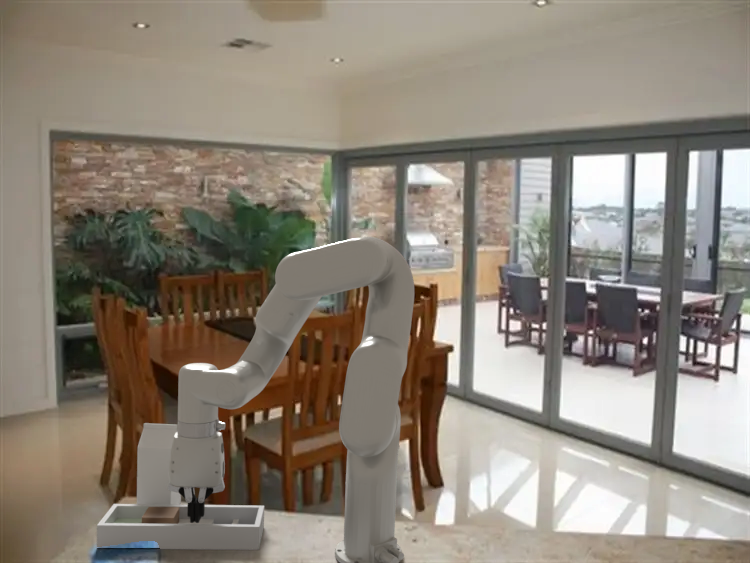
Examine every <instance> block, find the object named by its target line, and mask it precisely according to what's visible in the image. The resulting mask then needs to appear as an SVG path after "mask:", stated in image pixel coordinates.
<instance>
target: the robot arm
mask: <svg viewBox="0 0 750 563" xmlns="http://www.w3.org/2000/svg"><path fill="white" fill-rule="evenodd" d="M274 281H275V284H274V286H273V287H272V289H271V290H270V292H269V294H268V295H267V297H266V298H265V299H264V302H263V303H262V304H261V306H260V308H259V309H258V310H257V312H256V314H255V325H256V326H255V327H256V329H255V332H254V335H253V337H252V339H251V341H250V342H249V344H248V345H247V347H246V349H245V350H244V352H243V353H242V355H241V356H240V358H239V359H238V360H237V362H236V363H235V364H233V365H231V366H229V367H227V368H224V369H220V370H219V369H218V367H217V366H216V365H214V364H211V363H207V362H193V363H188V364H185V365H183V366H181V368H180V369H179V372H178V381H177V383H178V385H177V386H178V389H177V390H178V396H177V430H178V432H176V433H175V435H174V439H173V443H172V449H171V456H170V466H169V486H168V490H169V491H173V492H178V493H180V494H181V497H182V498H183V499H184V500H185V502H186V503H187V505H188V512H187V516H188V517H190V523H193V522H194V521H195V522H196V523H199V521H200V519H201V517H204V510H205V505H206V504H205V502H206V500H207V499H208V498H209V497H210V496H211V495H212V494H216V493H222V492H223V491H224V490H225V487H226V486H225V482H224V481H225V480H224V478H225V471H226V470H225V469H226V467H225V465H226V463H225V448H224V447H225V446H224V439H223V432H220V431H221V430H225V429H226V422H224V421H223V422H222V421H220V419H219V408H221V409H225V410H226V409H227V410H236V409H240V408H241V407H243V406H245V405H246V404H247V403H249V402H250V401H251V400H252V399H254V398H255V397H256V396H258V395H259V394H260V393H261V392H262V391H264V389H265V387H266V386H267V384H268V383H269V382H270V380H271V378H272V377H273V376H274V374H275V373H276V372H277V370H278V368H279V366H280V365H281V363H282V361H283V360H284V358H285V356H286V354H287V352H288V351H289V350H290V347H291V346H292V344H293V343H294V340H295V338H296V337H297V335H298V334H299V332H300V330H301V329H302V327H303V326H304V324H305V323H306V321H307V320H308V318H309V316H310V315H311V314H312V312H313V311H314V309H315V307H316V306H317V305H318V303H319V301H320V300H321V299H322V297H325V296H329V295H334V294H338V293H342V292H346V291H352V290H356V289H359V288H365V287H368V300H367V305H366V308H365V320H364V326H363V332H362V338H361V342H360V344H359V345H358V346H357V348H356V349H355V350H354V351H353V353H351V356H350V358H349V360H348V366H347V370H346V375H345V379H344V380H345V382H344V388H343V389H344V390H343V394H342V400H341V408H340V416H339V424H338V428H339V429H338V431H339V432H338V433H339V437H340V439H341V441H342V444H343V445H344V447H345V448H346V449H347V454H346V470H345V473H346V474H345V492H344V493H345V495H344V522H343V539H342V540H341V541H340V542H338V543H337V545H335V548H334V549H335V550H334V555H335V556H334V557H335V559H336V560H337V561H338V563H400V562H401V561H402V560H404V558H405V554H404V553H403V551H402V548H401V546H399V544H398V538H397V537H395V532H396V531H395V527H396V510H397V509H396V508H397V505H396V504H397V503H396V502H397V480H398V464H399V447H400V446H399V445H400V438H401V424H402V423H401V422H402V420H401V419H402V416H401V410H400V406H399V399H400V391H401V385H402V380H403V377H404V374H405V372H406V369H407V365H408V352H409V341H410V335H411V330H412V318H413V311H414V304H415V281H414V276H413V273H412V270H411V268H410V265H409V264H408V261H407V260H406V259H405V257H404V256H403V254H401V252H400V251H399V250H398V249H397V248H395V246H393V245H391V244H390V243H388V242H387V241H385V240H383V239H381V238H379V237H374V236H362V237H361V236H360V237H354V238H349V239H346V240H342V241H337V242H335V243H330V244H327V245H322V246H319V247H314V248H311V249H304V250H301V251H295V252H291V253H289V254H288V255H286V256H284V257H283V258H282V259H281V260H280V262H279V263H278V265H277V267H276V270H275V275H274ZM195 488H199V493H198V496H196V495H195V494H196V493H195Z"/></svg>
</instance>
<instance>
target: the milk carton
mask: <svg viewBox="0 0 750 563" xmlns="http://www.w3.org/2000/svg"><path fill="white" fill-rule="evenodd" d="M176 432H178V424H168V423H149V422H145V423H143V428H142V432H141V436H140V438H139V441H138V443H137V444H138V445H137V454H136V455H137V457H136V460H137V461H136V464H137V466H136V467H137V468H136V470H137V471H136V504H169V505H182V504H181V502H182V495H181V494H180V493H178V492H173V491H169V490H168V486H169V466H170V456H171V449H172V443H173V439H174V435H175V433H176Z"/></svg>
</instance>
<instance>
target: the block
mask: <svg viewBox="0 0 750 563" xmlns="http://www.w3.org/2000/svg"><path fill="white" fill-rule="evenodd" d="M142 523H150V524H178V523H179V507H148V509H147V510H146V512H145V513H144V515H143V516H142Z"/></svg>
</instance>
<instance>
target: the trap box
mask: <svg viewBox="0 0 750 563" xmlns="http://www.w3.org/2000/svg"><path fill="white" fill-rule="evenodd" d="M148 507H179V523H178V524H150V523H142V516H143V515H144V513H145V512H146V510H147V509H148ZM187 512H188V504H181V505H169V504H137V503H113V504H112V505H111V507H110V508H109V509H108V510H107V512H106V513H105V514H104V516H103V517H102V518H101V519H100V521H99V522H98V523H97V524H96V548H97V547H102V546H110V545H118V544H125V543H131V542H139V541H155V542H157V543H158V545H159V548H160V549H159V550H211V551H212V550H217V551H218V550H219V551H220V550H225V551H226V550H234V551H235V550H237V551H239V550H241V551H246V550H247V551H249V550H250V551H252V550H253V551H258V550H260V546H261V542H262V537H263V532H264V528H265V505H251V504H250V505H248V504H247V505H244V504H243V505H241V504H240V505H239V504H235V505H234V504H205V510H204V517H201V519H200V521H199V523H196V522H195V521H194V522H193V523H190V517H188V516H187Z"/></svg>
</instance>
